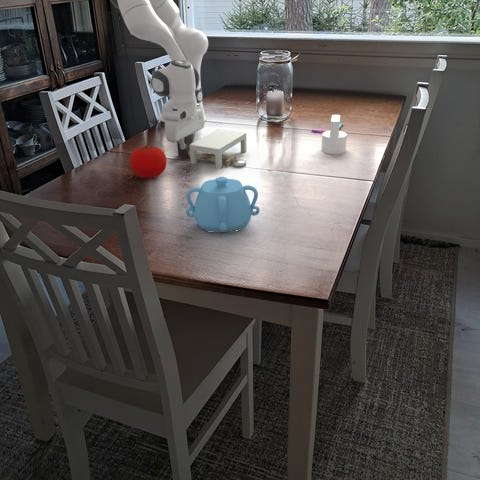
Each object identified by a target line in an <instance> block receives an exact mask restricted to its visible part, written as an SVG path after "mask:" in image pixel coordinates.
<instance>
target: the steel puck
mask: <svg viewBox="0 0 480 480" xmlns="http://www.w3.org/2000/svg"><path fill="white" fill-rule="evenodd" d="M246 166H247V160H246V159H244V158H237V159H234V160H232V165H231V167H235V168H243V167H244V168H245V167H246Z"/></svg>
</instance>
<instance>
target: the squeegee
mask: <svg viewBox="0 0 480 480" xmlns="http://www.w3.org/2000/svg"><path fill="white" fill-rule="evenodd" d="M342 126H344V124H343V122H340V125H339V129H341V127H342ZM326 131H327V130H316V129H311V133H312V132H313V134H322V133H323V132H326Z"/></svg>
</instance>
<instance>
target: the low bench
mask: <svg viewBox="0 0 480 480" xmlns="http://www.w3.org/2000/svg"><path fill="white" fill-rule="evenodd" d="M239 143H240V152H242V153H246V152H247V132H244V131H235V130H227V129H223V128H222V129H220V128H216V130H214V131H211V132H210V133H207V135H204V136H203V137H200V138H198V139H196V140H194V142H193V143H191V144H189V145H190V157H189V158H190V159H189V160H190V164H191V165H193V164H194V165H195V164H197V163H198V159H197V155H196V151H197V152H203V153H209V154H215V159H216V162H215V168H216V169H222V167H223V163H222V156H223V155H222V154H223V153H226V151H228V150H229V149H231V148H232V147H234V146H236V145H237V144H239Z"/></svg>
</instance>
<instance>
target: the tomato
mask: <svg viewBox="0 0 480 480" xmlns="http://www.w3.org/2000/svg"><path fill="white" fill-rule="evenodd" d="M167 161H168V159H167V155H166V154H165V152H164V151H163V150H162V148H160V147H158V146H157V147H156V146H152V145H149V144H147V145H142V146H139V147H136V148H135V149H134V150H133V151H132V153H131V155H130V157H129V167H130V170H131V171H132V172H133V174H135V175H136V176H137V177H140V178H141V179H155V178H157V177H158V176H160V175H162V174H163V173H164V171H165V169H166V168H167V164H168V162H167Z"/></svg>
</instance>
